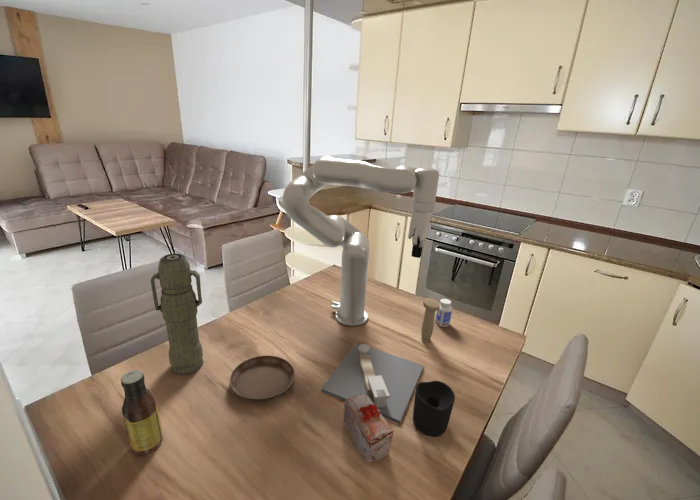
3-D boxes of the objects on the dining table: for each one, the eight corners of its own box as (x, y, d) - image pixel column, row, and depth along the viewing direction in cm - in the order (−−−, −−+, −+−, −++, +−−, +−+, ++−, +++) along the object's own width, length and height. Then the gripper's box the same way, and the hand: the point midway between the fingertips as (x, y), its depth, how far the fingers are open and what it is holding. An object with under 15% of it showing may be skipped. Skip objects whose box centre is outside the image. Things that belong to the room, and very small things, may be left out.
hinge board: (320, 391, 96) (321, 377, 94) (356, 345, 116) (357, 333, 114) (399, 424, 87) (401, 409, 85) (423, 367, 107) (425, 355, 106)
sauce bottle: (140, 433, 80) (125, 363, 73) (168, 432, 81) (156, 363, 74) (125, 458, 74) (107, 386, 67) (155, 457, 75) (141, 385, 68)
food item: (395, 457, 78) (400, 424, 75) (365, 472, 75) (369, 438, 71) (365, 413, 89) (367, 383, 86) (337, 424, 86) (339, 393, 82)
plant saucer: (273, 355, 109) (272, 347, 108) (307, 385, 98) (307, 377, 97) (219, 380, 98) (218, 372, 97) (250, 419, 86) (250, 410, 85)
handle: (427, 333, 125) (432, 297, 120) (436, 344, 119) (442, 306, 114) (415, 335, 123) (420, 298, 118) (424, 346, 118) (430, 308, 112)
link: (359, 359, 107) (359, 355, 107) (368, 359, 108) (369, 354, 107) (367, 395, 94) (368, 389, 93) (378, 394, 94) (378, 389, 93)
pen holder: (418, 403, 94) (423, 374, 90) (452, 419, 89) (459, 388, 86) (405, 427, 86) (410, 396, 82) (442, 446, 82) (448, 414, 78)
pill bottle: (450, 321, 133) (454, 299, 130) (448, 328, 129) (452, 306, 125) (436, 318, 135) (440, 296, 132) (433, 324, 131) (437, 302, 127)
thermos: (211, 368, 102) (199, 259, 89) (166, 380, 96) (146, 266, 84) (207, 351, 109) (195, 248, 97) (165, 361, 104) (147, 253, 91)
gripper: (417, 200, 123) (411, 248, 130) (405, 208, 110) (399, 261, 117) (438, 203, 120) (431, 252, 127) (428, 212, 108) (421, 266, 114)
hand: (416, 256), depth 122 cm, fingers closed
